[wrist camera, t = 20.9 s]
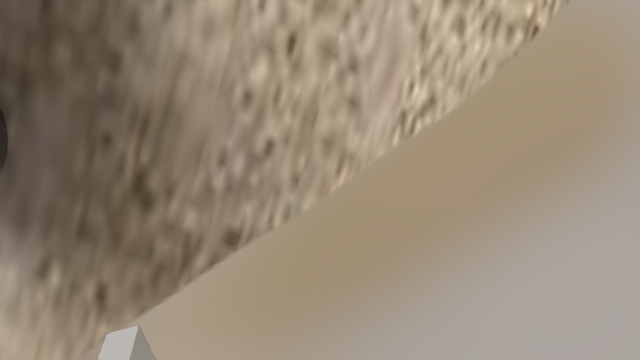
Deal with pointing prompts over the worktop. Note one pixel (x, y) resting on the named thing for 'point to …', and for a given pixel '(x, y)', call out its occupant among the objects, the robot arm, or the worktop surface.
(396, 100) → the worktop surface
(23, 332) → the worktop surface
